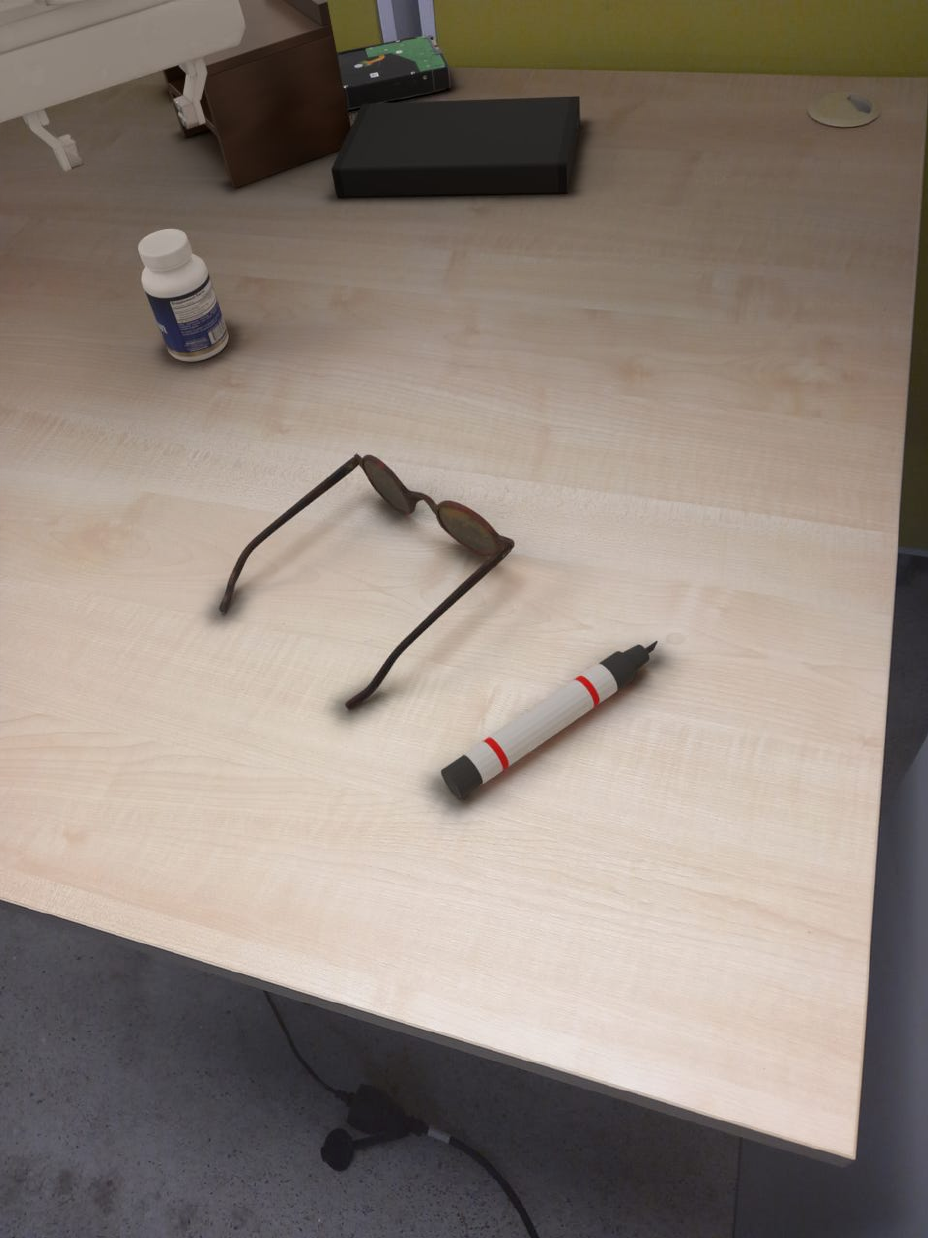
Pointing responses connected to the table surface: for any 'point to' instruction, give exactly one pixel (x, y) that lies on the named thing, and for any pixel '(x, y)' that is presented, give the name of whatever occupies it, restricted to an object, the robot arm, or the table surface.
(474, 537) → the eyeglasses
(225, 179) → the table surface
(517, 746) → the marker
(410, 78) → the disk drive
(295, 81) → the rack
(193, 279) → the pill bottle
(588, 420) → the table surface
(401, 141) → the external hard drive
